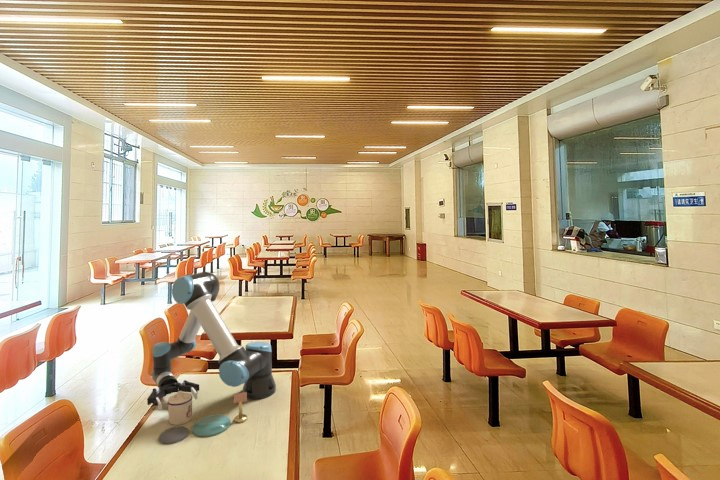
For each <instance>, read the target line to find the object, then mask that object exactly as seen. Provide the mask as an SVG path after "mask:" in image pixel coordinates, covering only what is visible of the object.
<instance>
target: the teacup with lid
mask: <svg viewBox="0 0 720 480" xmlns="http://www.w3.org/2000/svg"><path fill="white" fill-rule="evenodd" d="M167 404H168V406H167V407H168V409H167V410H168V422H169V424H170V425H175V426H178V425H179V426H181V425H183V424H186V423H188V422H189V421H191V420H192V419H193V395H192V394H191V392H183V391H178V392H176V393H175V394H172V395H171V396H170V397H169V398H168V400H167Z"/></svg>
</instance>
